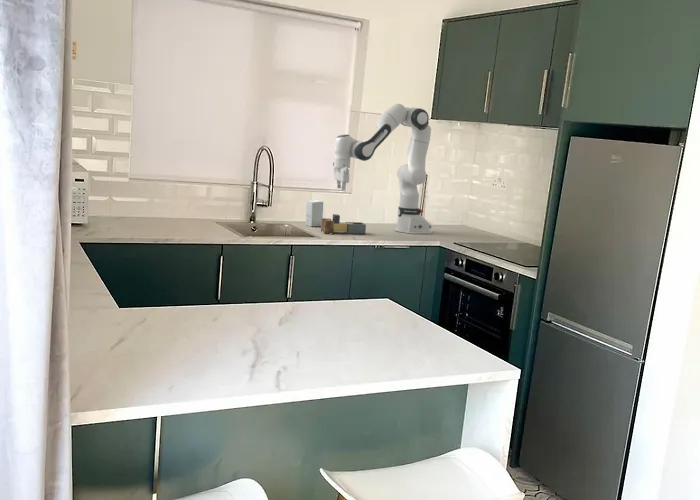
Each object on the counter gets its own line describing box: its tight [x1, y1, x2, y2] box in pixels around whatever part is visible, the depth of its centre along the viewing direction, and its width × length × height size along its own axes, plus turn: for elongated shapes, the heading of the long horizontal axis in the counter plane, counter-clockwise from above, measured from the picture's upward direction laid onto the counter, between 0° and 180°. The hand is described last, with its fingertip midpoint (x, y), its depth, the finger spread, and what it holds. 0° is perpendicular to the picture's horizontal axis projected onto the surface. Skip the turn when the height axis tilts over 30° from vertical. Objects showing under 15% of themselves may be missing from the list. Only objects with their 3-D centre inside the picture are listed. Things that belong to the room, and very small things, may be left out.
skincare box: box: [305, 199, 324, 227], centre depth 413 cm, size 8×6×15 cm
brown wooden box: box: [320, 217, 334, 234], centre depth 394 cm, size 5×9×7 cm, turn 15°
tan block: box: [331, 213, 353, 233], centre depth 395 cm, size 14×4×9 cm, turn 105°
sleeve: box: [344, 221, 367, 236], centre depth 398 cm, size 10×8×6 cm
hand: (341, 189), depth 395 cm, fingers open, 8 cm apart
